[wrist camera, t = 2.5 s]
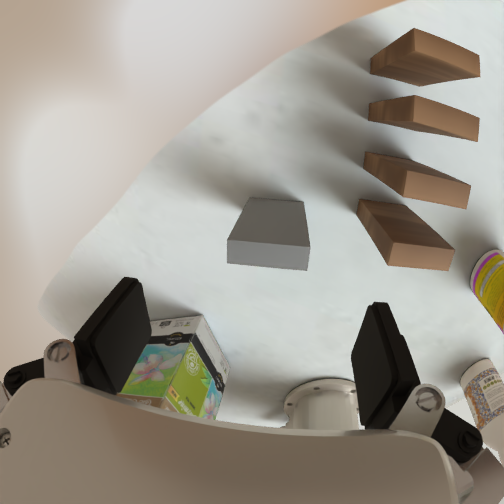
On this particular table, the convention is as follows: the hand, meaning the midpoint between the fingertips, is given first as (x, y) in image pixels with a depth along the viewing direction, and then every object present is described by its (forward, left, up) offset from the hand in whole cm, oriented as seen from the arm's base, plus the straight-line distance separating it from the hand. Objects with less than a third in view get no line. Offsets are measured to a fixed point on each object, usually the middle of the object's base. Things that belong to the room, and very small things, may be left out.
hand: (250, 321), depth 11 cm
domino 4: (+6, -8, -17) cm, 20 cm away
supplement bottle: (+12, -25, -17) cm, 33 cm away
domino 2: (+14, -3, -17) cm, 22 cm away
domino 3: (+10, -6, -17) cm, 20 cm away
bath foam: (+2, -44, -17) cm, 48 cm away
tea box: (-24, -1, -17) cm, 30 cm away
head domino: (0, 0, -17) cm, 17 cm away
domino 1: (+17, 0, -17) cm, 24 cm away
